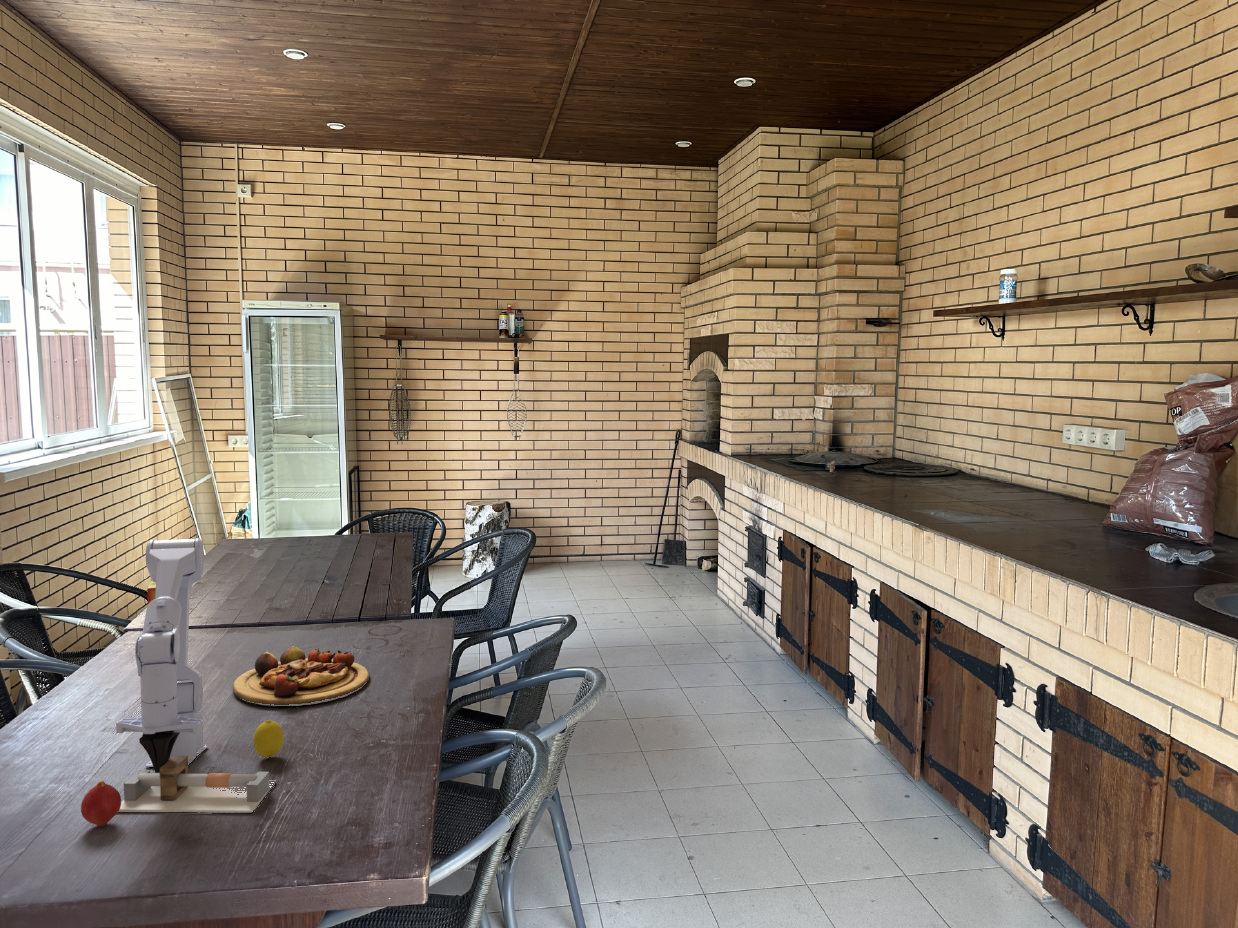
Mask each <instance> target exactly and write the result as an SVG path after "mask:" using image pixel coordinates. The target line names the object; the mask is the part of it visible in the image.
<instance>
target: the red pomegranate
mask: <svg viewBox="0 0 1238 928" xmlns="http://www.w3.org/2000/svg"><path fill="white" fill-rule="evenodd" d="M121 802H122V796H121V793H120V792H119V791H118V790H117V789H116V787H114V786H113V785H111V784H107V783H105V780H99V781H98V783H97V784H96V785H94V786H93V787H91V789H90V790H89V791H88V792H87V793H86V794H85V796H84V797H83V799H82V800H81V805H80V812H81V813H80V814H81V816H82V818H84V819H85V821H87V822H88V823H90V824H93V825H96V826H97V827H104V826H106V825H107V824H108V823H109V822H110V821H111V820H112V819H113V818H114V817H115V816H116V815H118V814H119V813H118V811H119V810H120V807H121Z"/></svg>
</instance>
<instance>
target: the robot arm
mask: <svg viewBox="0 0 1238 928" xmlns="http://www.w3.org/2000/svg"><path fill="white" fill-rule="evenodd" d="M145 547H146V548H145V566H146V568H147V571H148V574H149V577H150V579H151V581H153V582H155V583H156V594H155V599H154V600H153V601H151V602H150V603H149V604H148V603H147V606H146V610H145V616H144V622H143V627H142V633H141V636H140V635H139V636H137V638H136V641H135V645H134V646H135V647H134V658H135V663H136V665H137V676H138V677H140V678H139V679H140V682H139V683H140V709H141V710H140V711H141V712H140V714H141V716H140V717H132V718H131V717H130V718H129V717H128V718H121V719H119V720H118V721H117V722H116V724H115V728H116V729H115V730H116V731H115V733H116V734H123V733H125V732H126V733H127V732H129V733H131V732H134V733H135V732H136V733H142V736H140V737H139V739H138V741H139V744H140V745H141V746H142V747H143V749H144V750H145V752H146V753H147V755H148V757H149V759H150V760H149V761H148V762H147V763H146V764H145V768H149V767H154V768H153V770H154V773H160V768H161V767H162V766H163V765H164V764H165V763H167V762H168V761H169V760H170V759H171V758H172V757H173V756H175V755H180V756H188V765H189V763H191V761H192V760H193V759H194V758H193V757H196V756H198V755H197V754H200V753H196V752H198V750H199V749H200V748H201V747H205V748H206V747H207V746H206V745H207V744H204V720H203V715H202V713H201V712H200V711H201V710H202V709H203V703H204V687H203V676H202V675H201V672H200V671H198V670H196V669H195V668H193V667H192V666H190V665H188V661H189V659H188V654H189V653H188V652H189V624H190V600H191V599H190V595H191V591H192V587H193V584H195V583H196V582H198V581H200V580H202V575H204V555H205V553H204V551H205V550H204V549H205V548H204V542H203V540H202V539H201V538H200V537H196V538H185V539H184V538H183V539H181V538H180V539H157V540H155V539H150V540H149V541H148V542H147V543H146V546H145ZM183 681H185V682H183ZM186 681H187V682H186ZM203 745H205V746H203ZM202 750H204V749H202ZM201 752H202V751H201ZM200 755H201V754H200ZM198 757H199V756H198ZM191 764H192V763H191ZM189 766H190V765H189Z"/></svg>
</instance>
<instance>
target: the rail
mask: <svg viewBox="0 0 1238 928" xmlns="http://www.w3.org/2000/svg"><path fill="white" fill-rule="evenodd" d="M269 781H270V772H269V771H257V772H256V773H253V774H251V773H250V774H249V773H245V774H244V773H243V774H242V773H233V772H209V773H188V774H178V775H177V786H178V787H187V788H186V789H185V790H184V791H183V792H182V793H181V794H180V795H179V796H178V797H177V798H176V799H175V800H161V794H160V773H155V772H153V773H152V772H151V770H145V769H143V770H138V771H137V772H135V773H134V774H133V775H132V776H131V777H130V778H128V779H127V780H126V781H125V782H124V783H123V800H121V807H120V810H119V811H118V812H180V811H181V812H183V811H185V812H253V810H254V809H255V808H256V806H257V805H258V804H259V802H260V801H261V800H262V799H263V797H264V796H265V795H266V793H267V792H268V791H267V790H269V787H270V788H271V787H272V786H269V785H271V784H269ZM271 783H274V782H271ZM272 785H273V784H272ZM233 787H234V788H236V787H237V788H239V787H244V788H246V787H247V791H246V792H245V791H237V792H242V793H237V792H235V791H233V790H235V789H233V790H232V789H230V790H229V789H227V788H233ZM213 788H214V789H213ZM216 788H217V789H216ZM219 788H220V789H219ZM224 788H225V789H224ZM220 790H221V791H220ZM222 790H226V791H222ZM231 790H232V791H231ZM238 790H240V789H238ZM241 790H242V789H241ZM243 790H245V789H243ZM231 792H232V793H231ZM234 792H235V793H234ZM244 792H245V793H244ZM237 794H239V795H237ZM236 797H237V798H236ZM246 797H247V798H246Z"/></svg>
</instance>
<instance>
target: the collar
mask: <svg viewBox="0 0 1238 928" xmlns="http://www.w3.org/2000/svg"><path fill="white" fill-rule="evenodd" d="M178 774H189V766H188V756H180V755H175V756H173V757H172V758H171V759H170V760H169V761H168V762H167V763H165V764H164V765H163V766H162V767H161V768H160V794H161V800H175V799H176V798H177V797H178V796H179V795H180V794H181V793H182V792H183V791H184V790H185V789H186V788H187V787H178V786H177V775H178Z"/></svg>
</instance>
